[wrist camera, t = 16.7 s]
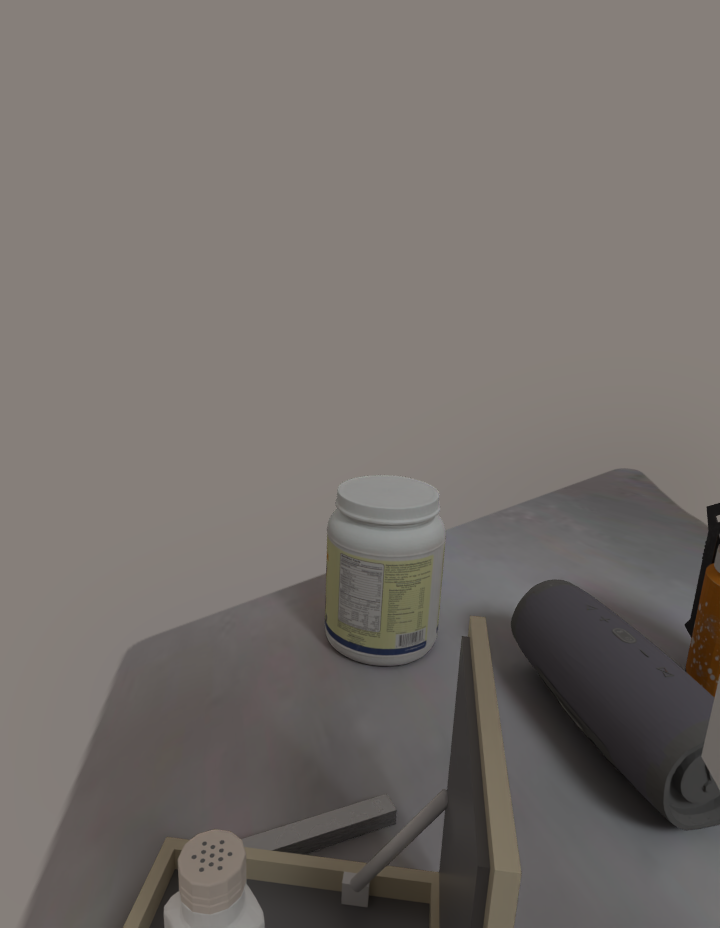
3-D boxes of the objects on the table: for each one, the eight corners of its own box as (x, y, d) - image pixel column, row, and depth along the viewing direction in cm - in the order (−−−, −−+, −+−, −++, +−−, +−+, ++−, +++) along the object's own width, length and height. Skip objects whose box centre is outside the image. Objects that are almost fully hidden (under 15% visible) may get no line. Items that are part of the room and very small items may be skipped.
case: (464, 1278, 26) (521, 873, 20) (22, 1194, 27) (-43, 800, 22) (454, 910, 41) (485, 617, 35) (168, 871, 42) (153, 586, 37)
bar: (385, 811, 48) (386, 793, 48) (395, 827, 47) (396, 809, 46) (223, 863, 43) (223, 844, 43) (229, 883, 42) (228, 864, 42)
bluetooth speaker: (756, 834, 47) (787, 717, 44) (644, 856, 45) (669, 734, 42) (582, 658, 68) (596, 570, 65) (500, 667, 66) (511, 577, 63)
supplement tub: (355, 600, 78) (361, 465, 73) (452, 627, 73) (465, 484, 68) (302, 649, 68) (304, 495, 63) (410, 685, 63) (422, 520, 58)
